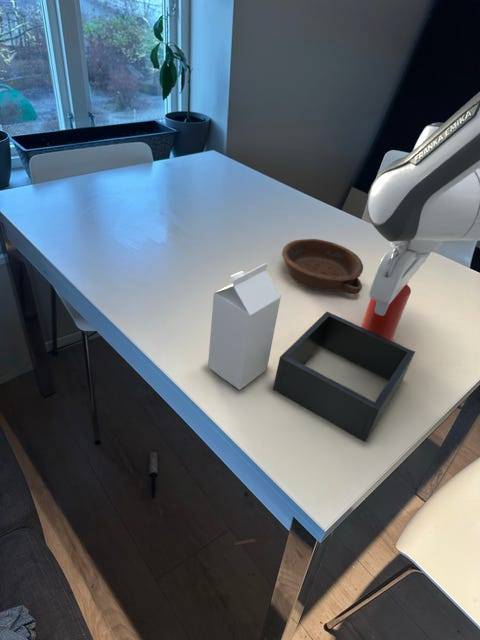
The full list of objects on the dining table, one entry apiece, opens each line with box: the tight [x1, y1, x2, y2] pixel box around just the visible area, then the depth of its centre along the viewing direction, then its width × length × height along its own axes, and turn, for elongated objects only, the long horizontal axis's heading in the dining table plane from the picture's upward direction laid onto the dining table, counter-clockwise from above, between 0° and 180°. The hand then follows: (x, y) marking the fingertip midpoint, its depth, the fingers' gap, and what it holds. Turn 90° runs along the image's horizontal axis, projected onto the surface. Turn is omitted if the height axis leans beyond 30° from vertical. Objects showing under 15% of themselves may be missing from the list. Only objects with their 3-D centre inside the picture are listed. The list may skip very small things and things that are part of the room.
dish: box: [281, 238, 364, 295], centre depth 100 cm, size 18×22×5 cm
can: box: [360, 284, 412, 341], centre depth 81 cm, size 6×6×12 cm
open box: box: [272, 311, 416, 443], centre depth 72 cm, size 16×16×7 cm
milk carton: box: [207, 262, 282, 391], centre depth 69 cm, size 7×7×19 cm
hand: (389, 301), depth 79 cm, fingers open, 8 cm apart
